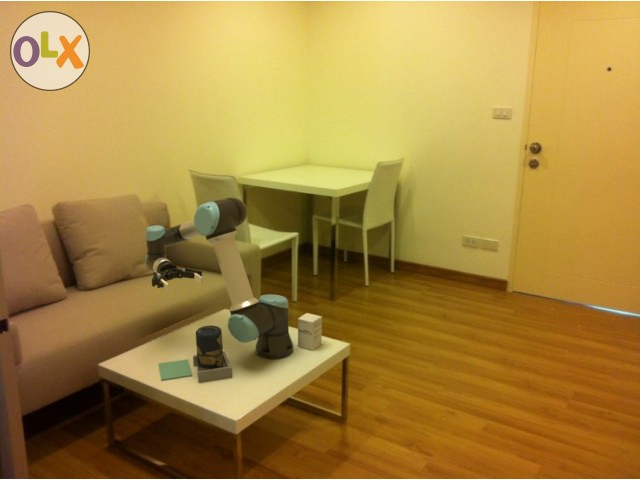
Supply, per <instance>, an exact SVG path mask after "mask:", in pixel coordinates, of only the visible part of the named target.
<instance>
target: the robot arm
mask: <svg viewBox="0 0 640 480" xmlns="http://www.w3.org/2000/svg"><path fill="white" fill-rule="evenodd" d="M247 217H248V208H247V205H246V204H245V202H244V201H243V200H241V199H239V198H238V197H226V198H222V199H216V200H211V201H208V202H205V203H203V204H200V205H199V206H198V207H197V208H196V210H195V213H194V215H193V219H190V220H188V221H185V222H182V223H180V224H178V225H174V226H171V227H167V228H165V227H164V226H162V225H150V226H147V228H146V230H145V240H146V249H147V250H146V251H147V252H146V253H147V254H146V256H145V259H144V264H145V265H146V267H147V268H148V269H149V270H150V271H152V278H151V286H152V287H156V286H157V289H161V288H163V290H164V291H166V292H169V290H170V287H169V286H170V285H169V283H168V282H167V281H172V280H174V279H183V278H186V279H194V280H195V282H197V283H199V285H201V286H202V285H203V284H204V279H203V271H202V270H198V269H193V268H189V267H185V266H183V267H182V269H181V268H178V266H176V264H174V263H173V262H172V261H170V260H169V259H168V258H167V247H169V246H170V247H171V246H173V245H177V244H180V243H181V244H182V243H185V242H188V241H190V240H192V239H195V238H197V237H200V236H205V239H206V241H207V242H209V243H210V244H211V245H212V247H213V250H214V253H215V256H216V259H217V263H218V265H219V269H220V272H221V275H222V277H223V282H224V285H225V288H226V290H227V295H228V297H229V300H230V303H231V306H230V308H229V313H230V316H229V318H228V320H227V328H228V331H229V333H230V335H231V336H232V337H233V339H235V340H237V341H238V342H240V343H250V342H253V341H256V344H255V353H256V355H257V356H259V357H261V358H263V359H267V360H269V359H270V360H278V359H283V358H286V357H289V356H290V355H292V354H293V352H294V344H293V343H294V342H293V340H292V338H291V335H290V332H289V329H290V328H289V327H290V326H289V325H290V324H289V318H290V317H289V314H290V313H289V312H290V310H289V309H290V306H289V300H288V298H287V297H286V296H282V295H279V294H263V295H260V296H259V297H258V298H256V297H254V294H253V291H252V288H251V284H250V281H249V277H248V276H247V272H246V268H245V266H244V263H243V260H242V257H241V253H240V251H239V248H238V245H237V241H236V238H235V236H236V234H237V233H238V232H237V229H236V228H237V227H239V226H241V225H243V223H245V222H246V219H247Z"/></svg>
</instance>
